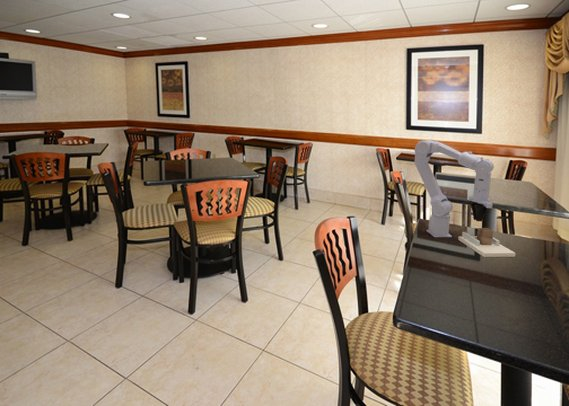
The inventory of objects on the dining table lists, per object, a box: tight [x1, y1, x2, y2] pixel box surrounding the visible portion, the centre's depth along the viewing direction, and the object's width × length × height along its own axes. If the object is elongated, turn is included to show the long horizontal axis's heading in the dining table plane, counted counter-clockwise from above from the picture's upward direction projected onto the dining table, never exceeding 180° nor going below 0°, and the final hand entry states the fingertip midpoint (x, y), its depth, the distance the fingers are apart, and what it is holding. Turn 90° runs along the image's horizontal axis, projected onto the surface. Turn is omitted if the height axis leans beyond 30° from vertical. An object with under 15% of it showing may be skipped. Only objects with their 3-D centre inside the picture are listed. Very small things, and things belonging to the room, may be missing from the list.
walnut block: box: [476, 227, 494, 245], centre depth 144 cm, size 4×4×6 cm
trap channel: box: [457, 231, 516, 258], centre depth 144 cm, size 20×12×4 cm, turn 0°
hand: (477, 220), depth 149 cm, fingers closed
